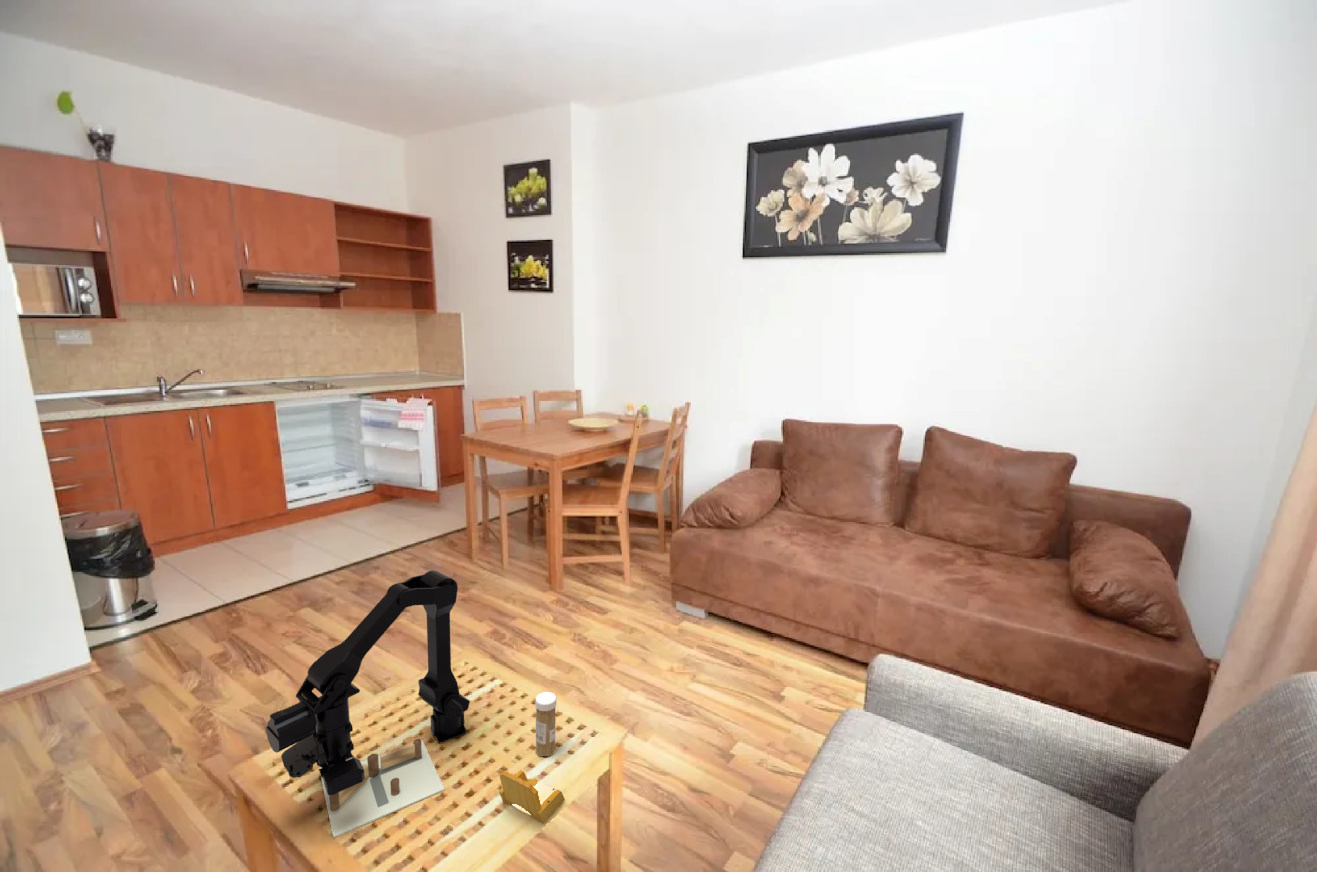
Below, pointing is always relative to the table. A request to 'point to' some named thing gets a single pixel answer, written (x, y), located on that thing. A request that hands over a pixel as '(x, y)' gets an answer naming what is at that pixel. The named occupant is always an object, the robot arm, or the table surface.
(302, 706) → the robot arm
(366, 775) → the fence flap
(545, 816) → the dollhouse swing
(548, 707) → the sprinkles bottle
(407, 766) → the card
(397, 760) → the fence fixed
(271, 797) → the table surface
